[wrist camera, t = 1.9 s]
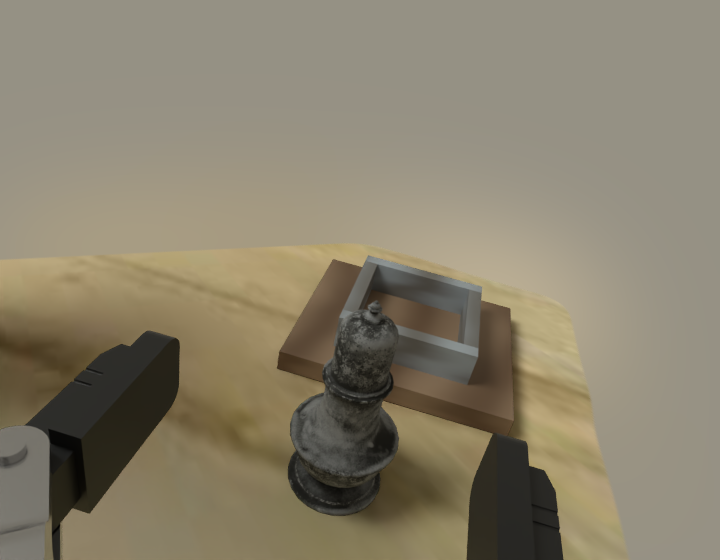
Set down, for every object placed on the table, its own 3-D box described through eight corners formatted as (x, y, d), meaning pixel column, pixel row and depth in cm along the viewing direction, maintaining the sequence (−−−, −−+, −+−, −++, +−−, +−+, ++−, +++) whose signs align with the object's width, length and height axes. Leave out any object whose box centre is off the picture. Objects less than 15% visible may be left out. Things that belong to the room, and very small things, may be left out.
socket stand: (277, 368, 38) (283, 321, 36) (330, 273, 50) (337, 234, 48) (506, 437, 36) (527, 392, 34) (504, 322, 48) (519, 284, 46)
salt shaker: (276, 437, 33) (302, 265, 27) (369, 431, 34) (415, 268, 28) (290, 527, 28) (327, 342, 22) (398, 514, 30) (459, 341, 24)
